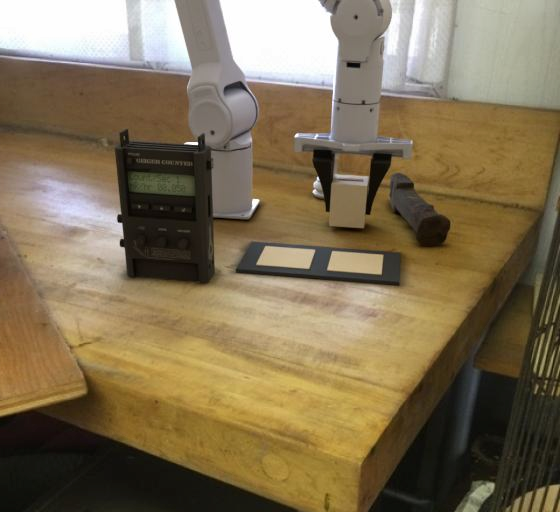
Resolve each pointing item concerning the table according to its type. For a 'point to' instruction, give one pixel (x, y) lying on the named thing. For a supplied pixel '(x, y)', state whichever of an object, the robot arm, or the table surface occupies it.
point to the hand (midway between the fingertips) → (348, 211)
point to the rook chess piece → (317, 185)
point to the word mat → (321, 263)
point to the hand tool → (417, 212)
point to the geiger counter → (166, 209)
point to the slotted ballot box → (348, 201)
